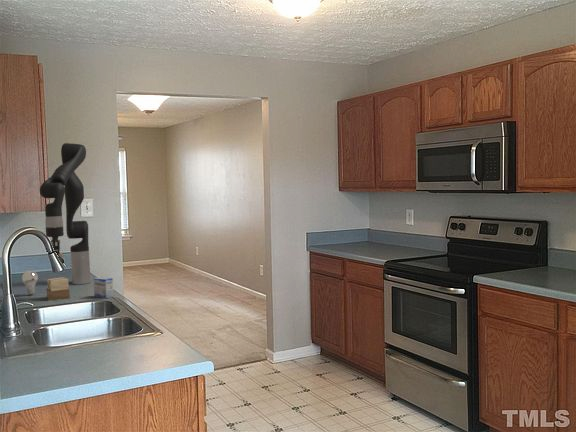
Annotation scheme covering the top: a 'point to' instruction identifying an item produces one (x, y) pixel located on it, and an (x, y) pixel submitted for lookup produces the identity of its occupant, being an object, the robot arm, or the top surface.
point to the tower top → (57, 284)
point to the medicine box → (103, 287)
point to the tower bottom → (58, 294)
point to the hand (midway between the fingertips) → (56, 262)
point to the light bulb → (30, 281)
